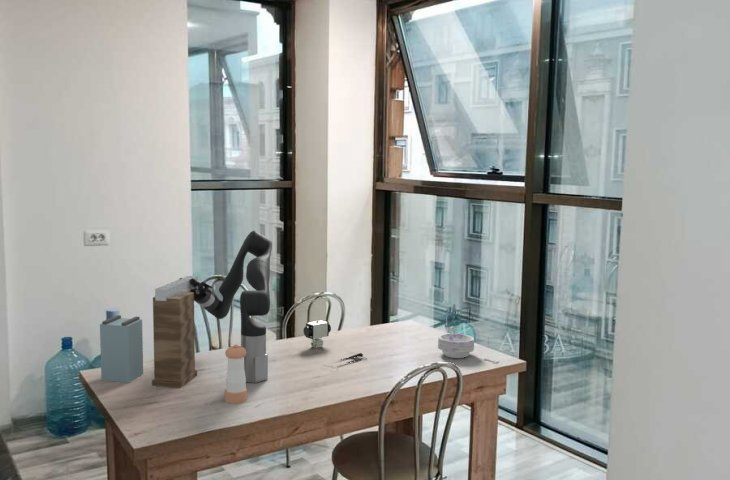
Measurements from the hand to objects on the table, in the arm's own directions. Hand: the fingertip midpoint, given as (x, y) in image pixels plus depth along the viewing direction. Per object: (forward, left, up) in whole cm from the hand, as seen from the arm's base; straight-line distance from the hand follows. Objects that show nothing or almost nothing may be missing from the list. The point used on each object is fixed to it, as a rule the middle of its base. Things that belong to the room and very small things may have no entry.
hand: (186, 280), depth 248 cm
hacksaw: (-37, -50, -36) cm, 72 cm away
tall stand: (-5, +9, -35) cm, 37 cm away
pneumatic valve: (-12, -58, -36) cm, 69 cm away
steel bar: (-4, +6, -3) cm, 8 cm away
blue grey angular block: (+12, +20, -35) cm, 42 cm away
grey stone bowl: (-63, -90, -36) cm, 116 cm away
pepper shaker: (-36, +6, -36) cm, 51 cm away
